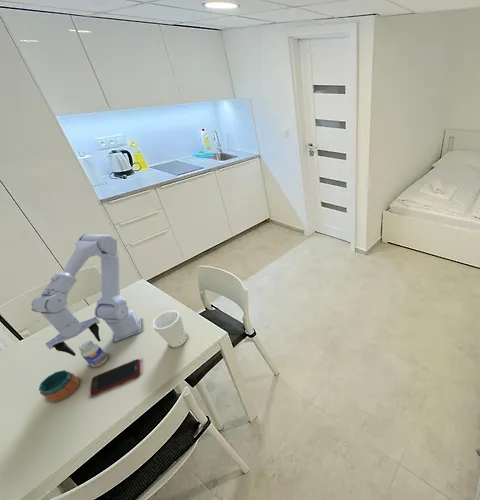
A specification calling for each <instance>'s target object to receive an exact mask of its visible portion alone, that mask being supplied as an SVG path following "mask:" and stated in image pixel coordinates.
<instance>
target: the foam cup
mask: <svg viewBox="0 0 480 500" xmlns="http://www.w3.org/2000/svg"><path fill="white" fill-rule="evenodd" d="M151 325H152V328H153V329H154V331H155V332H156V333H158V334H159V336H160V337H161V338H162V339H163V340H164V342H166V343H167V344H168V345H169V346H170V347H171V348H178V347H180V346H183V345H184V344H185V342H187V332H186V329H185V326H184V324H183V318H182V316H181V314H180V312H179V311H177V310H175V309H174V310H171V309H170V310H165V311H164V312H161V313H160V314H158V315H157V316H156V317H155V318H154V319H153V321H152V323H151Z"/></svg>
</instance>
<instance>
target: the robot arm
mask: <svg viewBox="0 0 480 500" xmlns="http://www.w3.org/2000/svg"><path fill="white" fill-rule="evenodd" d="M74 244H75V250H74V251H73V253H72V254H71V256H70V258H69V260H68V261H67V263H66V265H65V266H64V268H63V270H62V271H60V272H57V273H55V275H52V276H51V278H50V281H49V283H47V285H46V287H45V288H44V289H43V290H42V292H41V294H39V295H37V296H35V297H34V298H33V299H32V300H31V303H30V304H31V309H30V310H31V311H32V312H35V313H40V314H41V315H42V316H43V317H44V318H45V319H46V320H47V322H48V323H50V325H51V326H53V328H54V329H55V330H56V331H57V332H58V334H57V335H56V336H54V337H53V338H52V339H50V340H49V341H47V342H45V345H46V347H47V348H48V349H49V350H52V349H55V350H56V351H58V352H62V353H67V354H69V355H71V356H73V357H75V356H76V355H77V354H76V352H75V351H74V350H73V349H72V348H71V347H70V346H68V344H67V343H66V342H65V341H68V340H71V339H73V338H76V337H78V336H79V335H80V334H82V333H83V332H85V331H86V330H87V329H89V331H90V332H91V333H92V335H93V336H94V338H95V339H96V340H97V341H98V342H100V341H101V337H100V331H99V330H100V327H99V325H98V324H100V323H101V321H100V319H102V321H104V322H105V323H106V325H107V326H108V327H109V329H110V330H111V331H112V333H113V334H114V340H113V341H114V342H119V341H121V340H123V339H126V338H129V337H131V336H133V335H136V334H139V333H141V332H142V321H141V319H140V318H139V316H138V315H137V313H136V311H135V310H134V309H133V310H130V309H129V307H128V305H127V300H126V299H125V298H124V297H123V296H121V292H120V291H121V290H120V289H121V288H120V287H121V286H120V285H121V283H120V251H119V249H118V240H117V239H116V238H115V237H114V236H113V235H111V234H94V233H83V234H81V235H80V236H79V237H78V240H77V241H76V242H75V243H74ZM95 256H98V257H99V258H100V270H101V271H100V272H101V297H100V298H99V299H97V300H96V306H95V308H94V317H92V318H90V319H87V320H84V321H80V320H79V319H77V317H76V316H75V315H74V313H73V312H72V311H71V310H70V309H69V308H68V306H67V304H68V303H67V302H68V295H69V293H70V291H71V290H72V289H73V286H74V285H75V284H76V282H77V278H76V275H78V274H77V273H78V272H80V270H81V269H82V268H83V267H84V265H85V264H86V263H87V261H88V260H89V259H90V258H92V257H95Z"/></svg>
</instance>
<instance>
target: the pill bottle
mask: <svg viewBox="0 0 480 500" xmlns="http://www.w3.org/2000/svg"><path fill="white" fill-rule="evenodd" d="M78 350H79V351H80V356H81V357H82V358H83V359H84V360H85V361H86V363H87V364H88V365H89V366H90V367H93V368H96V367H99V366H101V365H103V364H104V363H105V362H106V361H107V359H108V355H107V354H106V352H104V350H103V349H102V348H101V347H100V345H99V344H97V343H94V342H93V341H92V340H87V341H84V342H82V343H81V344H79V347H78Z"/></svg>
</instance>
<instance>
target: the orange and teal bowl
mask: <svg viewBox="0 0 480 500" xmlns="http://www.w3.org/2000/svg"><path fill="white" fill-rule="evenodd" d="M79 385H80V381H79V379H78V378H77V377H76V375H75V374H74V373H72V372H71V371H67V370H65V369H64V370H63V369H62V370H58V371H55V372H53V373H52V374H50V375H48V376H47V377H46V378H44V379H43V381H41V382H40V383H39V387H38V391H39V394H40V395H41V396H42V397H43V398H46V400H48V401H49V402H52V403H55V402H59V401H62V400H64V399H66V398H68V397H69V396H70V395H72V394H73V393H74V392H75V391H76V390H77V388H78V386H79Z"/></svg>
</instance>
